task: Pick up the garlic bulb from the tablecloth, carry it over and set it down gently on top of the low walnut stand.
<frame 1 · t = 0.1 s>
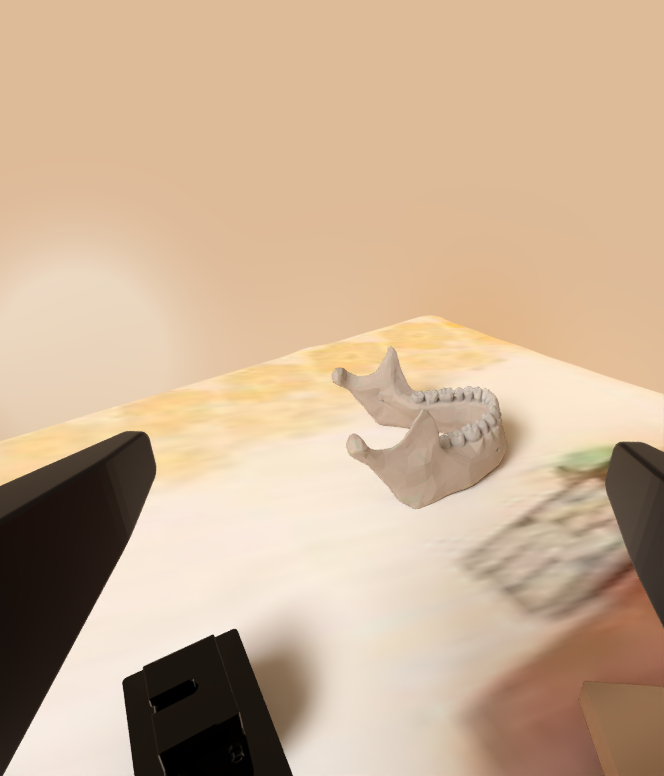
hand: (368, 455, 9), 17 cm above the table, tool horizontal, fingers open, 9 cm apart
build plate: (209, 756, 20), on the table
anatomical model: (421, 462, 37), on the table
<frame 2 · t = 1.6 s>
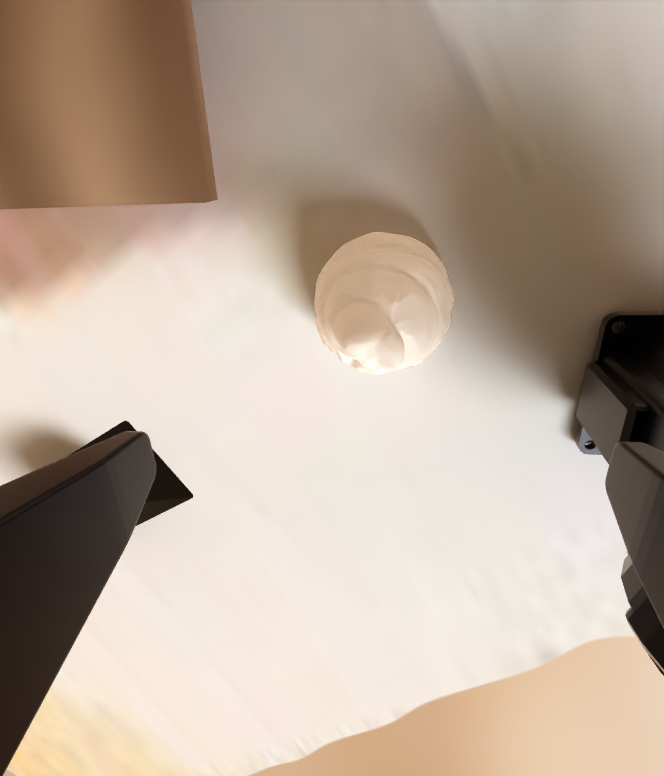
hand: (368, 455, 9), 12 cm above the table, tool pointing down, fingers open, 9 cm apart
walnut stand: (48, 20, 17), on the table
build plate: (108, 485, 27), on the table
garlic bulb: (383, 293, 20), on the table
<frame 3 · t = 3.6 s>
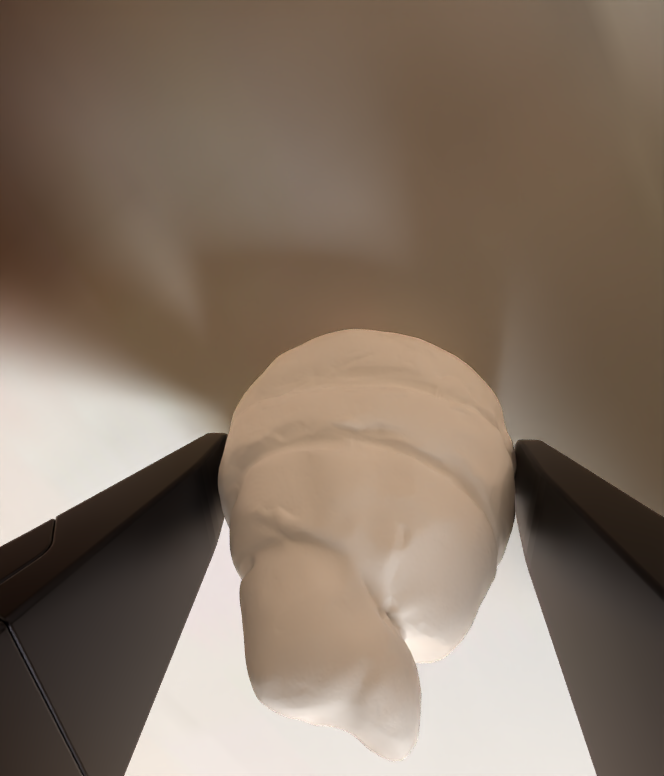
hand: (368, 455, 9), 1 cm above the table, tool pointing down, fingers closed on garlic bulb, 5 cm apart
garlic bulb: (369, 424, 11), on the table, touching gripper
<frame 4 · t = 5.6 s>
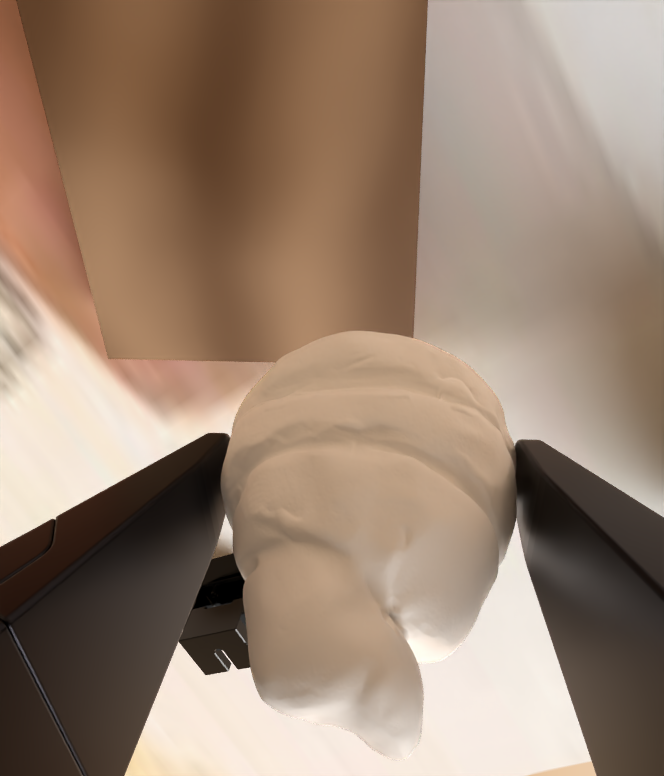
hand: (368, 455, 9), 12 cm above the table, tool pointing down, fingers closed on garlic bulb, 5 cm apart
walnut stand: (258, 187, 18), on the table
build plate: (246, 580, 29), on the table
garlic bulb: (371, 425, 11), point 10 cm above the table, touching gripper
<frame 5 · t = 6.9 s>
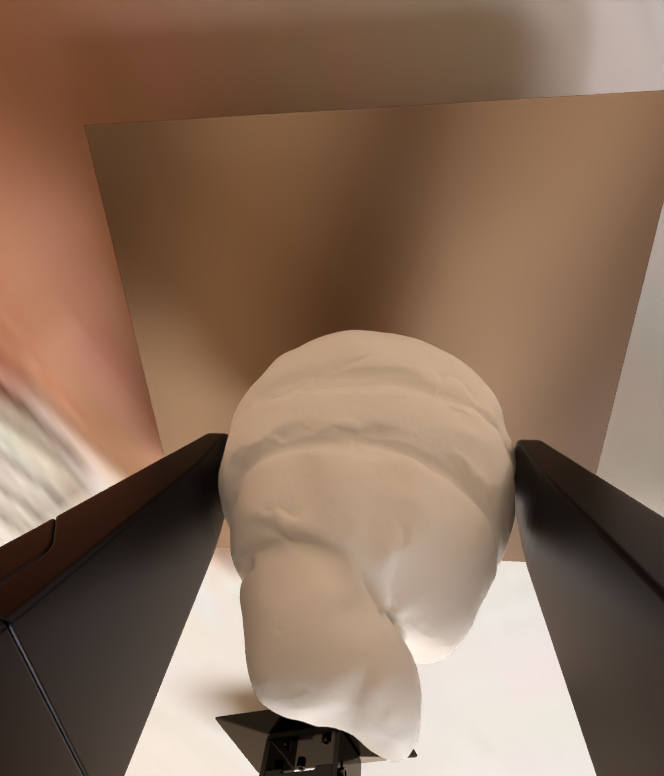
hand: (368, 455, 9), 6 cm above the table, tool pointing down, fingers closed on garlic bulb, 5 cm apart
walnut stand: (372, 339, 15), on the table
build plate: (317, 722, 26), on the table
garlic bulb: (369, 425, 11), point 5 cm above the table, touching gripper
when the fingers open (6 cm above the table, at t = 7.8 s): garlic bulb drops 1 cm, resting on walnut stand.
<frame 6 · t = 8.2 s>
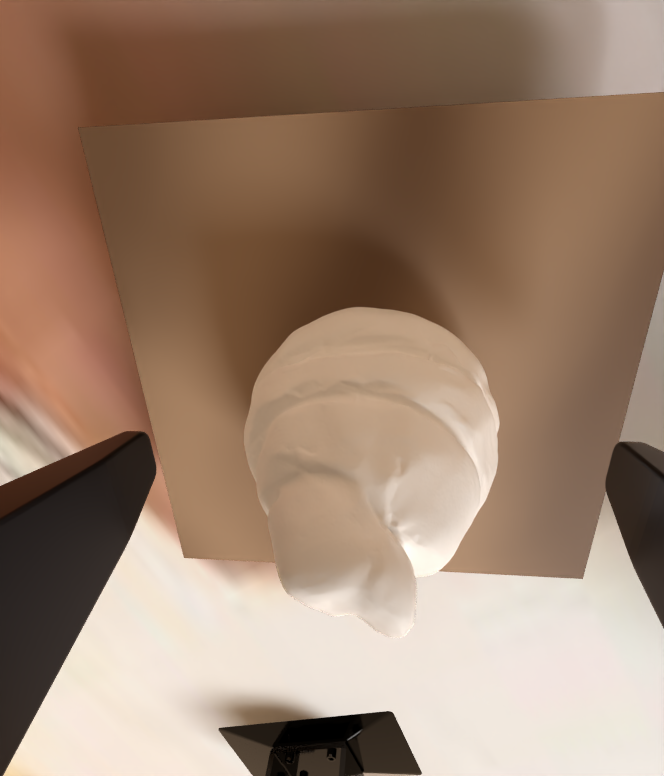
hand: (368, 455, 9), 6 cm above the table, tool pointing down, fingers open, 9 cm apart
walnut stand: (375, 346, 14), on the table
build plate: (320, 736, 25), on the table
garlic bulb: (372, 395, 12), point 3 cm above the table, touching walnut stand
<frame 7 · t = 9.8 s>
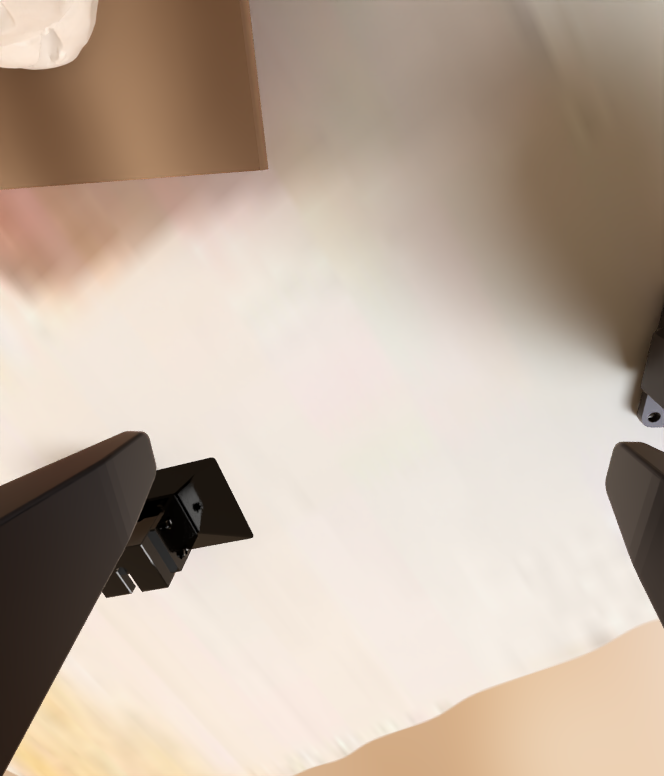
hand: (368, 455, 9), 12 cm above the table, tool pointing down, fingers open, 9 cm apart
build plate: (163, 506, 27), on the table
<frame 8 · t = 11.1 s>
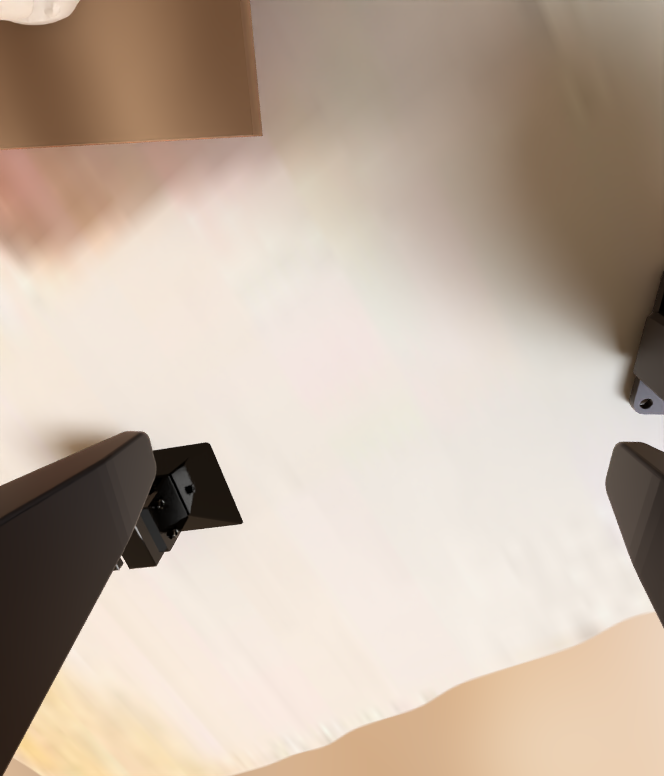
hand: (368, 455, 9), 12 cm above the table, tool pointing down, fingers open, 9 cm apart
build plate: (155, 486, 27), on the table
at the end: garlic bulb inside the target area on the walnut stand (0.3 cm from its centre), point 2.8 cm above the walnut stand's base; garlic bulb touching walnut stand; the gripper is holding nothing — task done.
